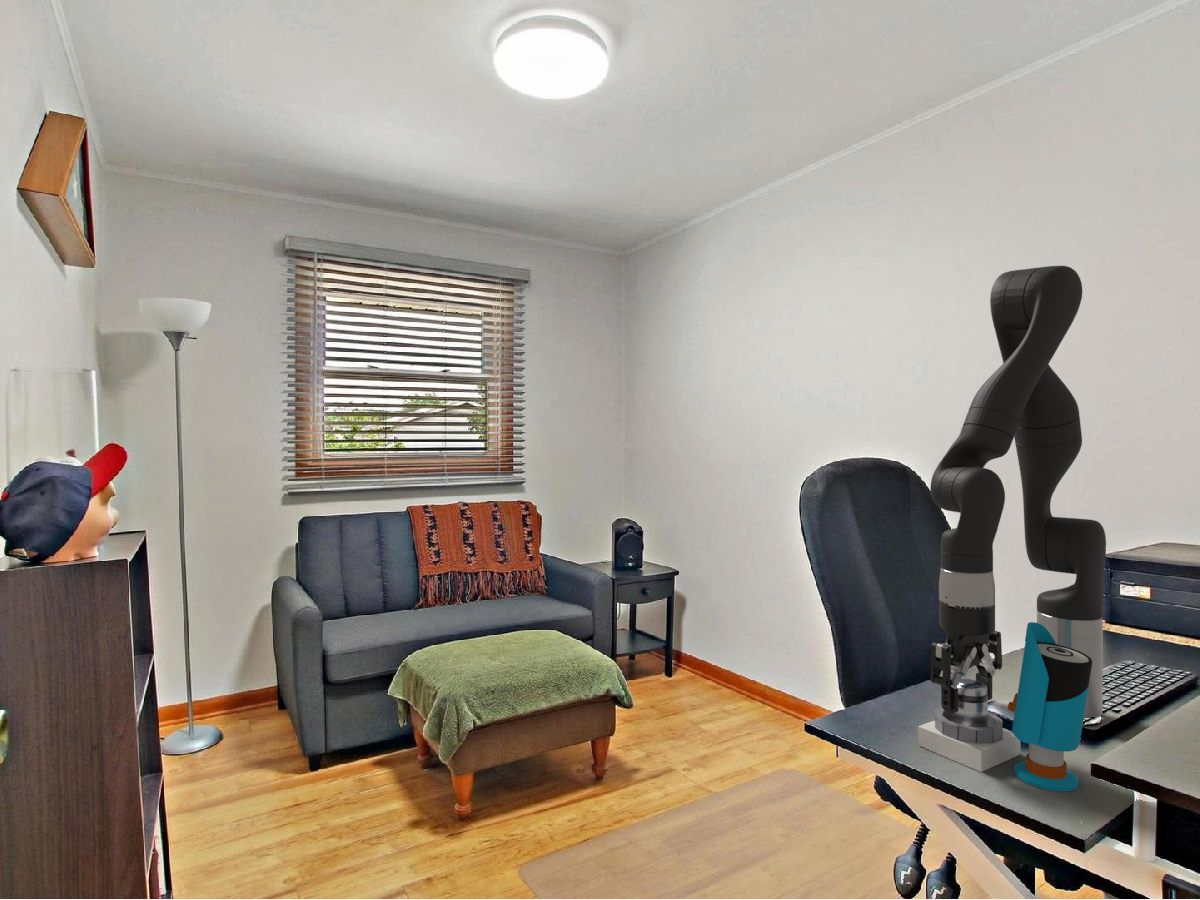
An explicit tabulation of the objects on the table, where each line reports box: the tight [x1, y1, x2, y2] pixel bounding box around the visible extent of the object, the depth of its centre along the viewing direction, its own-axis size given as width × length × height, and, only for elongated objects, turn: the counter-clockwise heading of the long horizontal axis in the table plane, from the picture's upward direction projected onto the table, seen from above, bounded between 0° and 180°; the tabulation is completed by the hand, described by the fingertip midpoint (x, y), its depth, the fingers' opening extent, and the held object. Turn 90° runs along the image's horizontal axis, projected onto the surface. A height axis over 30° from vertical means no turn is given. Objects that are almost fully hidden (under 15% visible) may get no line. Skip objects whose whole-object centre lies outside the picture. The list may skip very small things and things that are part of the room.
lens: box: [951, 678, 989, 727], centre depth 108 cm, size 5×5×7 cm
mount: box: [917, 706, 1021, 773], centre depth 108 cm, size 10×10×5 cm
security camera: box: [1007, 621, 1092, 792], centre depth 99 cm, size 8×21×10 cm
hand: (967, 704), depth 108 cm, fingers open, 8 cm apart
